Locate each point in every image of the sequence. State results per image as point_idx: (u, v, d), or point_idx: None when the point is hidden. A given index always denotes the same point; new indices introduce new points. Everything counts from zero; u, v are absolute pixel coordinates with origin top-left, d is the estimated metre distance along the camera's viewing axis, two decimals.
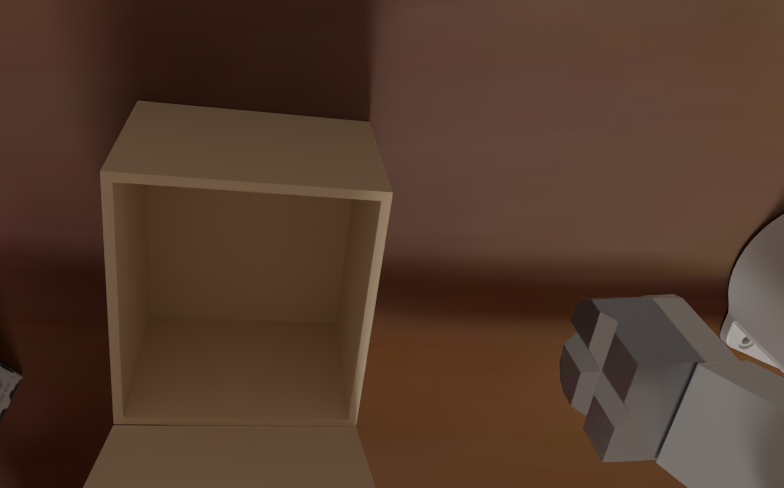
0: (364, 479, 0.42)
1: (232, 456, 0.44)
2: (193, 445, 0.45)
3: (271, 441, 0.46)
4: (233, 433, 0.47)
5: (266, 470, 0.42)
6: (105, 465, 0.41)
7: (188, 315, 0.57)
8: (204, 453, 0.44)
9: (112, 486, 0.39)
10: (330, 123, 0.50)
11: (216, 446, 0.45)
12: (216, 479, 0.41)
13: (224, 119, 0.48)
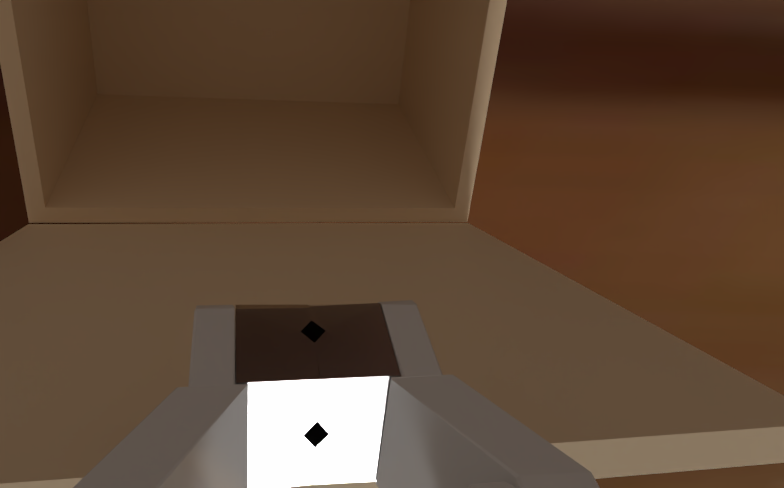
0: (532, 266, 0.21)
1: (258, 247, 0.22)
2: (181, 239, 0.23)
3: (327, 235, 0.25)
4: (255, 229, 0.25)
5: (332, 260, 0.21)
6: None
7: (161, 91, 0.35)
8: (203, 245, 0.22)
9: (0, 281, 0.17)
10: None
11: (225, 240, 0.23)
12: (233, 271, 0.19)
13: None
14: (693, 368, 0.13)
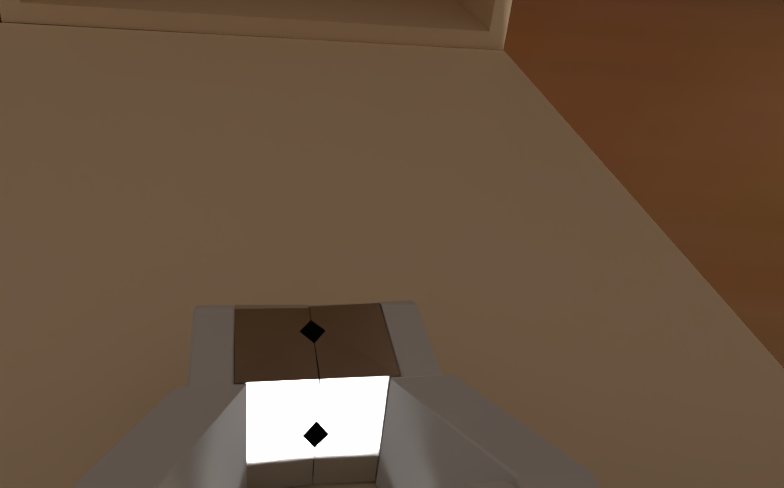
0: (573, 149, 0.19)
1: (267, 90, 0.19)
2: (178, 67, 0.20)
3: (345, 67, 0.22)
4: (263, 50, 0.22)
5: (350, 122, 0.18)
6: None
7: None
8: (204, 82, 0.19)
9: None
10: None
11: (229, 71, 0.20)
12: (238, 138, 0.17)
13: None
14: (740, 365, 0.12)
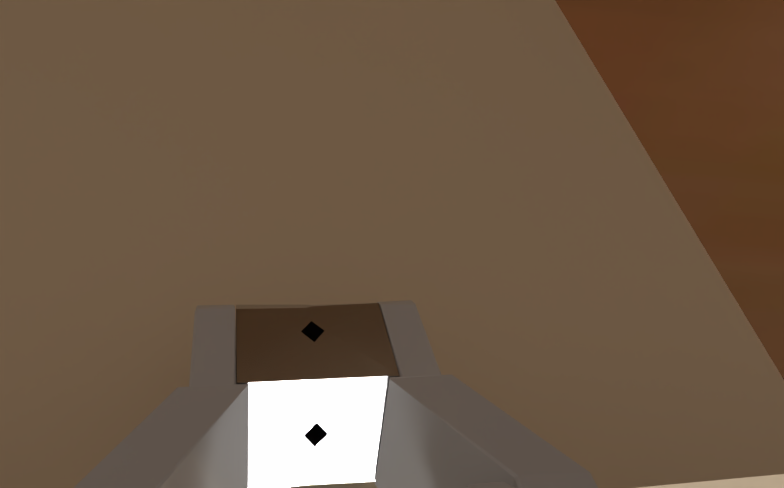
0: (582, 74, 0.18)
1: None
2: None
3: None
4: None
5: (349, 37, 0.17)
6: None
7: None
8: None
9: None
10: None
11: None
12: (229, 57, 0.16)
13: None
14: (721, 341, 0.12)
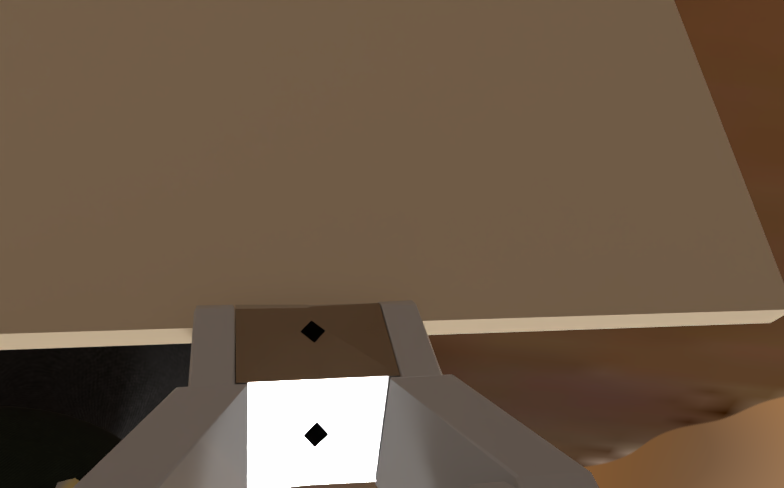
0: None
1: None
2: None
3: None
4: None
5: None
6: None
7: None
8: None
9: None
10: None
11: None
12: None
13: None
14: (708, 186, 0.13)
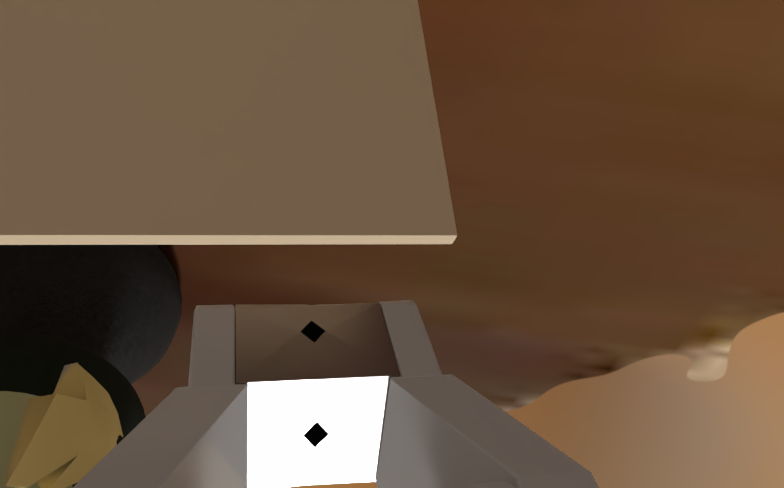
0: None
1: None
2: None
3: None
4: None
5: None
6: None
7: None
8: None
9: None
10: None
11: None
12: None
13: None
14: (424, 172, 0.24)
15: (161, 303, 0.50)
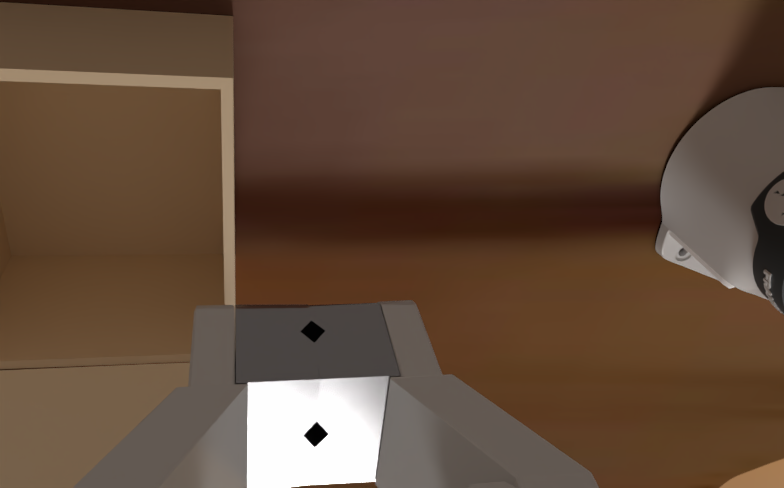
0: None
1: (86, 442, 0.40)
2: (43, 419, 0.41)
3: (133, 403, 0.42)
4: (91, 386, 0.42)
5: None
6: None
7: (55, 252, 0.51)
8: (55, 437, 0.40)
9: None
10: (184, 17, 0.44)
11: (70, 419, 0.41)
12: None
13: (53, 14, 0.41)
14: None
15: None
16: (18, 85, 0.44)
